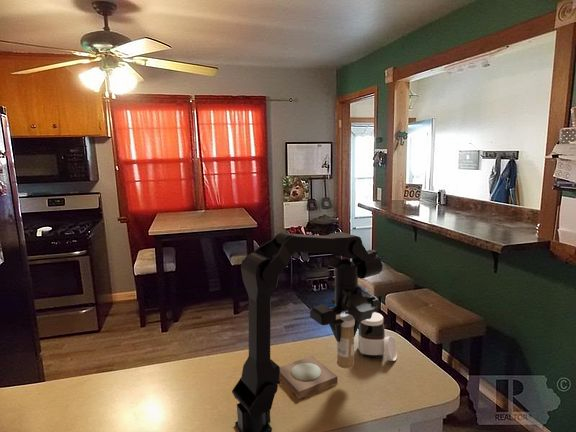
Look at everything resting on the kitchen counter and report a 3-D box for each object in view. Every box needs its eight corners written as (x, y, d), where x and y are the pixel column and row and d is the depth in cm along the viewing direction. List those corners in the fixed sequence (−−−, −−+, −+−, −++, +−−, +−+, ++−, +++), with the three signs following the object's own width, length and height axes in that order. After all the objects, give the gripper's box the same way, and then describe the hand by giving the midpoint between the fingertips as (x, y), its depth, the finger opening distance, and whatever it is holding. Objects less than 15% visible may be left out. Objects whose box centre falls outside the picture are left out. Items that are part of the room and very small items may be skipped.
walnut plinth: (299, 398, 94) (299, 390, 93) (276, 374, 104) (276, 367, 104) (337, 383, 100) (337, 375, 99) (312, 361, 110) (312, 354, 110)
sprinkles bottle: (357, 365, 98) (358, 317, 96) (344, 371, 96) (345, 322, 94) (345, 357, 102) (346, 311, 100) (332, 363, 100) (333, 315, 97)
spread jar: (356, 343, 120) (357, 309, 118) (392, 344, 119) (393, 309, 117) (360, 364, 108) (360, 327, 106) (400, 365, 107) (401, 328, 105)
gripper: (335, 300, 84) (334, 364, 86) (396, 284, 93) (394, 343, 95) (308, 285, 93) (308, 343, 96) (366, 272, 102) (365, 326, 105)
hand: (345, 339), depth 98 cm, fingers closed on sprinkles bottle, 4 cm apart
